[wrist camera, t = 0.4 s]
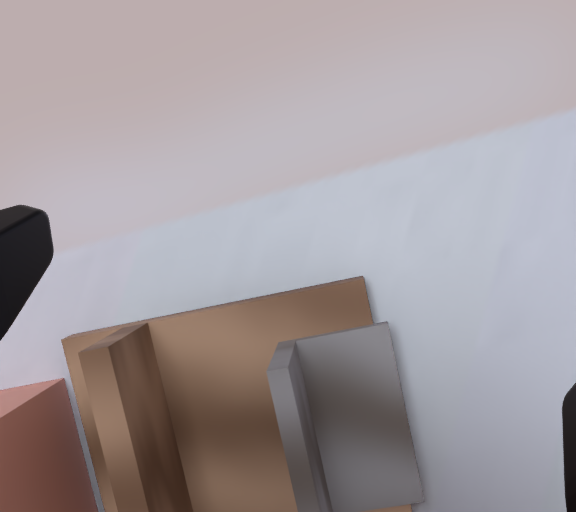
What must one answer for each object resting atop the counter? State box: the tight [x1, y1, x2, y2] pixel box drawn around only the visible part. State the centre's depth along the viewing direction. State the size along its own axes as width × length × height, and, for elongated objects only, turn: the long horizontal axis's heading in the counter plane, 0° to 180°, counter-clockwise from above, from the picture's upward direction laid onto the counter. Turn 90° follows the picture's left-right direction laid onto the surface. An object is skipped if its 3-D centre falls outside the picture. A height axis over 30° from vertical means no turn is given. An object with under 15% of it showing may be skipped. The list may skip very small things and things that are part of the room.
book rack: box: [61, 276, 425, 512], centre depth 21 cm, size 12×15×5 cm
